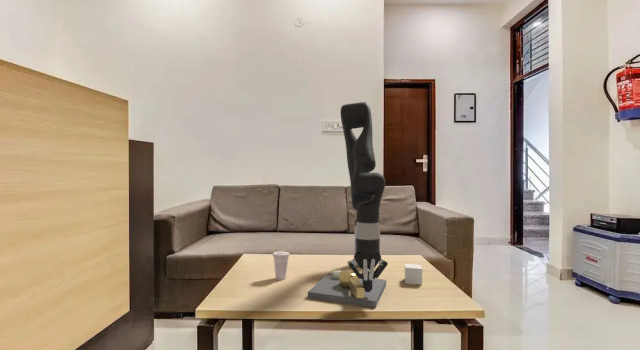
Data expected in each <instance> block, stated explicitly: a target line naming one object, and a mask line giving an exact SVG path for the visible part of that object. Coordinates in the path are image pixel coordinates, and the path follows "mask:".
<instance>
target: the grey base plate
mask: <svg viewBox="0 0 640 350" xmlns="http://www.w3.org/2000/svg"><path fill="white" fill-rule="evenodd" d="M341 271H342V270H333V271H332V272H331V273H330V272H329V273H327V274H326V275H325V276H324V277H323V278H322V279H320V280H319V281H318V282H317V283H316V284H314V286H313V287H311V288H310V290H308V291H307V299H311V300H312V299H313V300H319V301H326V302H335V303H338V304H339V303H340V304H347V305H353V306H354V305H355V306H361V307H367V308H373V309H375V308H377V305H378V303H379V302H380V299H381V298H382V295H383V293H384V291H385V289H386V287H387V279H381V278H374V279H373V281H372V290H371V291H370V292H365V290H364V298H356V297H355V295H354V294H353V292H352V291H351V289H350V288H344V287H341V286H340V285H339V272H341ZM360 283H361V284H362V286H363V279H360Z"/></svg>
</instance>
